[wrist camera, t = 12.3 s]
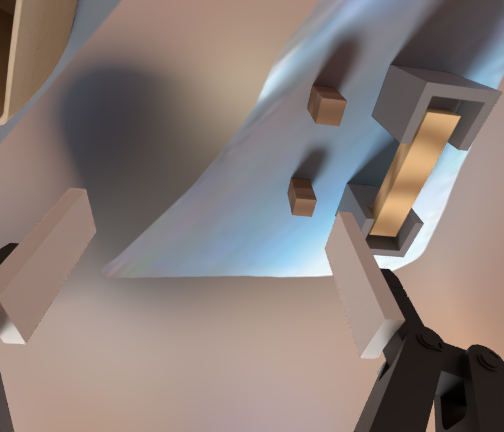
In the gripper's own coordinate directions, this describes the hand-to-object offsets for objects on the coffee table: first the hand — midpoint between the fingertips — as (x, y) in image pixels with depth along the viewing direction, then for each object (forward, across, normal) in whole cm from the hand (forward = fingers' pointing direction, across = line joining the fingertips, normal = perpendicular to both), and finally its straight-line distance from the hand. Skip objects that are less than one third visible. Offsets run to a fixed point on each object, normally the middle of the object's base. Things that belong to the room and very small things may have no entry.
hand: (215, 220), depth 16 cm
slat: (+23, +24, -7) cm, 34 cm away
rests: (+29, +12, -7) cm, 32 cm away
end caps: (+29, +24, -7) cm, 38 cm away
